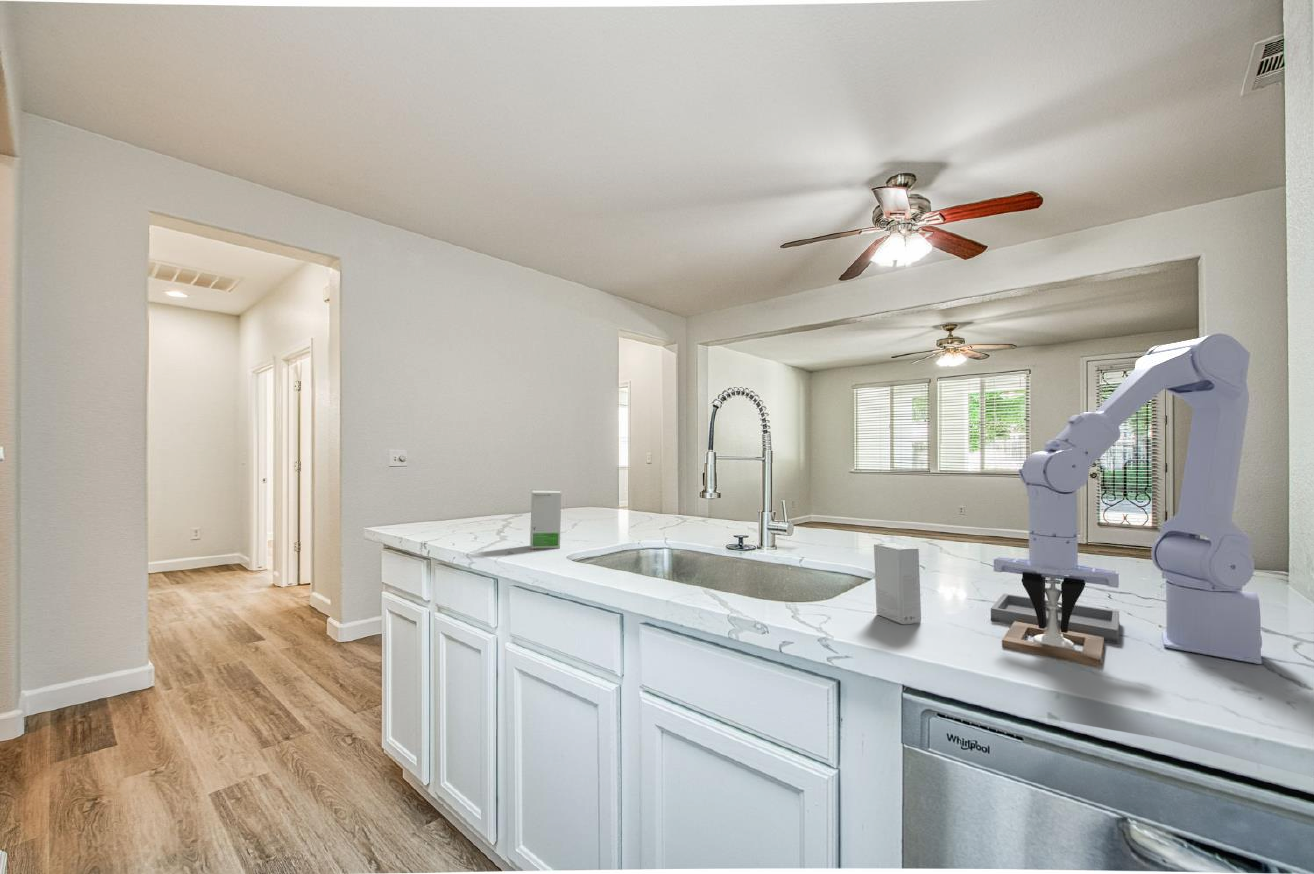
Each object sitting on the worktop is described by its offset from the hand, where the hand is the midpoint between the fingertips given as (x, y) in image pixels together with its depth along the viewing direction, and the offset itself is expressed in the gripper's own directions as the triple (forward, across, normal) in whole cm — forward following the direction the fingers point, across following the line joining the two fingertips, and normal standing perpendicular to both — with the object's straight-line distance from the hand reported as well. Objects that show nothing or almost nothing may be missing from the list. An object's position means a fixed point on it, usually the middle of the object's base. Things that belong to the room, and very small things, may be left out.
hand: (1053, 628), depth 79 cm
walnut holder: (+2, 0, 0) cm, 2 cm away
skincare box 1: (+3, -116, -1) cm, 116 cm away
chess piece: (+3, 0, 0) cm, 3 cm away
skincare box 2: (+3, -21, -2) cm, 21 cm away
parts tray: (+2, -1, +13) cm, 13 cm away
